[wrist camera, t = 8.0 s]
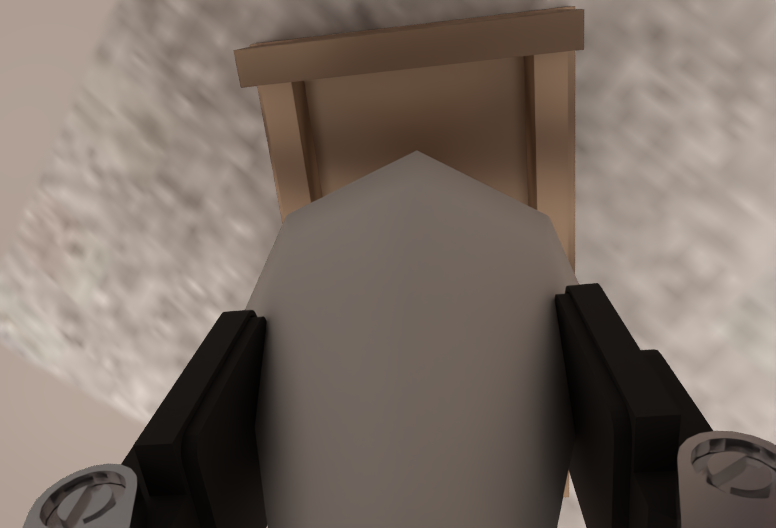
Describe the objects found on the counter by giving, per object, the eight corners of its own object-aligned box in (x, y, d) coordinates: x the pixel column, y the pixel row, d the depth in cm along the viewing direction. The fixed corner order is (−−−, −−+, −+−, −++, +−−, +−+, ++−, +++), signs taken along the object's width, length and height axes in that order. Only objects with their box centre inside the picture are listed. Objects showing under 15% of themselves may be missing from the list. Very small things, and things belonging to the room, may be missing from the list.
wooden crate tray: (255, 43, 26) (210, 53, 21) (569, 6, 25) (610, 6, 20) (331, 461, 35) (313, 548, 29) (570, 448, 33) (599, 536, 28)
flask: (182, 321, 14) (-322, 970, 4) (417, 77, 11) (382, 364, 2) (414, 509, 15) (398, 1268, 6) (659, 329, 13) (1216, 1094, 4)
